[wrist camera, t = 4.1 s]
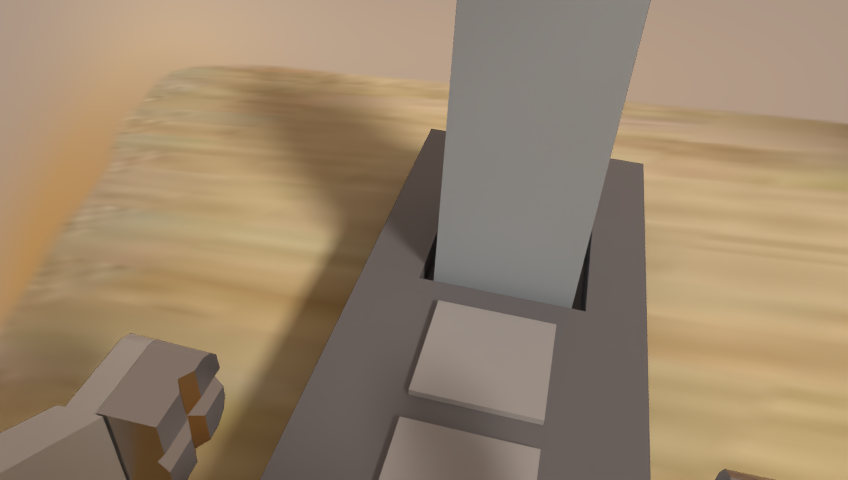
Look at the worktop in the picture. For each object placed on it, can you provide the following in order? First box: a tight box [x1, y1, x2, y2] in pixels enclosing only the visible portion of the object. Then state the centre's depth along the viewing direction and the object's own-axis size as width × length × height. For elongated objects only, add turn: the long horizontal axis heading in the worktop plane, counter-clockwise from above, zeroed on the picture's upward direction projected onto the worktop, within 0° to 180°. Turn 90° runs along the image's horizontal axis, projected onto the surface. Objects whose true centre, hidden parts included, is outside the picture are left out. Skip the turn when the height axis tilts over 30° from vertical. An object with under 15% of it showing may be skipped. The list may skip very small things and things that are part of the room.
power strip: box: [260, 129, 650, 480], centre depth 21 cm, size 9×22×3 cm, turn 166°
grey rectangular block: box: [434, 0, 651, 309], centre depth 21 cm, size 4×4×11 cm
